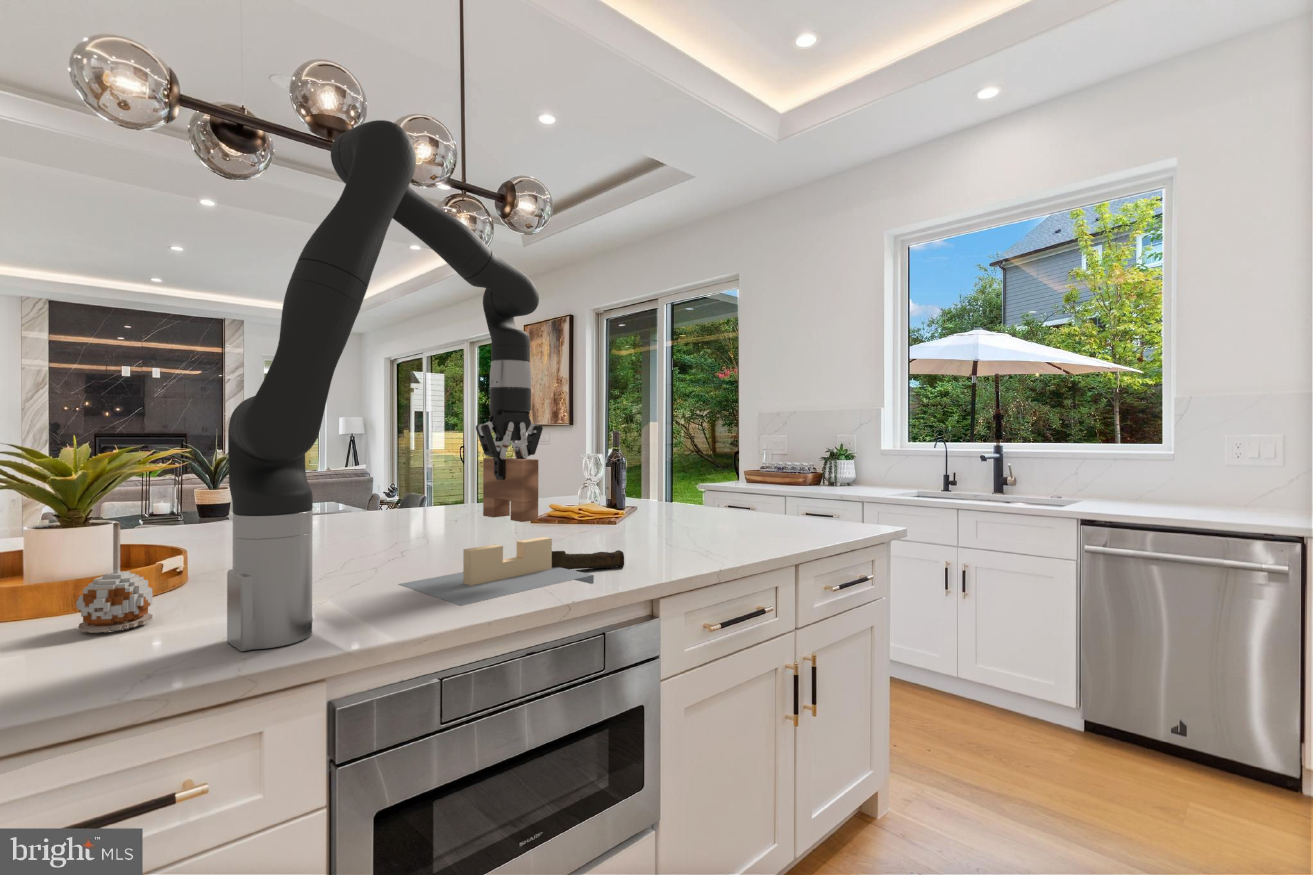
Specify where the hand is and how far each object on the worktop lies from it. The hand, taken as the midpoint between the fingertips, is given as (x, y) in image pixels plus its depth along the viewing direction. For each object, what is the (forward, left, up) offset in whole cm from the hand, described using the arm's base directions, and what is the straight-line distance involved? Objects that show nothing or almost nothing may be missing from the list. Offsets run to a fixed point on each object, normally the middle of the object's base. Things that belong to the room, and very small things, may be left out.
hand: (510, 478), depth 116 cm
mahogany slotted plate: (0, 0, -7) cm, 7 cm away
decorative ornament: (-53, +20, -20) cm, 60 cm away
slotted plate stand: (-3, -1, -20) cm, 20 cm away
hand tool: (+16, -2, -20) cm, 26 cm away
